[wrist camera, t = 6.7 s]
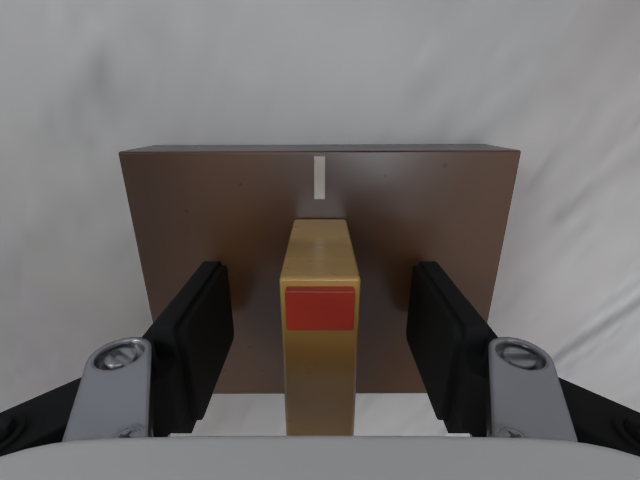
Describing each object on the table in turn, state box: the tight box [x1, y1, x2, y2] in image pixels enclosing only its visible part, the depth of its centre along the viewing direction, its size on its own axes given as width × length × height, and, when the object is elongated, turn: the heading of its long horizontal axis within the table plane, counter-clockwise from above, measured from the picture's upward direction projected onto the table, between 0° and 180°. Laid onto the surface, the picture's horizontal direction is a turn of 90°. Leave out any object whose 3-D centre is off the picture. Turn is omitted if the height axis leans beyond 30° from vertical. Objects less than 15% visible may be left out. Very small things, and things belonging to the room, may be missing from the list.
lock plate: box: [119, 144, 521, 394], centre depth 14 cm, size 13×10×3 cm
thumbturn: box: [279, 219, 361, 436], centre depth 10 cm, size 6×2×5 cm, turn 0°
